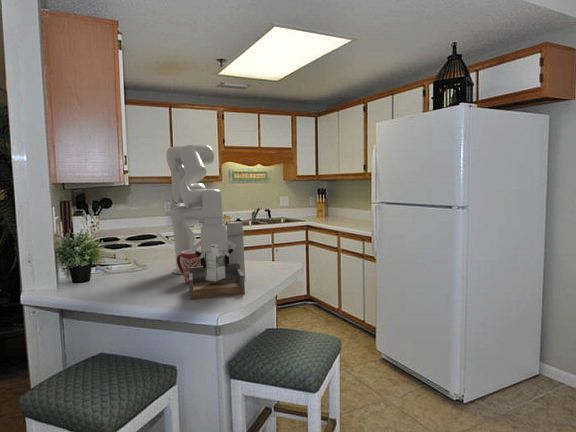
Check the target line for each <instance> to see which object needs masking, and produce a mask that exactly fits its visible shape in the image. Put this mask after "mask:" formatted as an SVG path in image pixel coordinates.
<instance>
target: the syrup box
mask: <svg viewBox="0 0 576 432" xmlns="http://www.w3.org/2000/svg"><path fill="white" fill-rule="evenodd" d="M204 258H205V280H208V281H219V280H222V279H225V278H226V267H225V253H224V251H219V250H218V244H212V245H211V252H206V253H205V255H204Z"/></svg>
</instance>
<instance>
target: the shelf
mask: <svg viewBox="0 0 576 432" xmlns="http://www.w3.org/2000/svg"><path fill="white" fill-rule="evenodd" d="M225 267H226V266H225ZM188 286H189V299H190V300H199V299H209V298H217V297H227V296H237V295H245V294H246V291H245V290H246V289H245V280H244V275H243V273H242V271H241V269H240V263H235V264H228V267H226V278H225V279H222V280H219V281H208V280H205V269H203V266H200V267H189V284H188Z"/></svg>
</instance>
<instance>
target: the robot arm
mask: <svg viewBox="0 0 576 432" xmlns="http://www.w3.org/2000/svg"><path fill="white" fill-rule="evenodd" d="M214 153H215V152H214V150H213V149H212V147H211V146H210V145H208V144H187V145H177V146H176V145H175V146H171V147H168V148H167V150H166V163H167V165H168V169H169V171H170V173H171V185H172V186H171V187H172V199H173V201H174V203H176V204H183V205H180V206H176V207H174V208H172V209H171V211H170V220H171V224H172V230H173V241H174V256H175V257H174V258H175V268H173V270H172V273H173V274H177V275H183V274H182V272H181V271H180V269H179V267H178V264H177V256H178V255H180V254H181V252H182V251H186V250H193V251H194V252H195V253H196V255H198V256H199V257H200V258H201V266H203V269H205V258H204V255H205V253H206V252H211V245H212V244H218V250H219V251H224V253H225V266H226V267H228V264H229V255H230V254H231V253H232V252H233V250H234V249H235V247H236V244H234V243H233V242H231V241H229V240H228V239H227V226H226V224H224V217H223V198H222V197H223V196H222V195H223V194H222V191H221V190H220V189H215V188H207V187H206V186H205V184H204V183H201V182H200V181H202V180H203V179H204V178H205V177H206V175H207V169H206V166H205V165H212V163H214V160H215V154H214ZM198 225H201V227H200V236H199V239H200V241H199V242H197V243H196V242H195V241H196V239H195V233H194V232H193V230H192V229H191V228H190V227H191V226H198ZM189 226H190V227H189ZM228 244H229V245H231V246H232V247H231V248H230V249H229V251H227V249H228ZM199 247H200V250H201V251H202V252H201V253H200V252H199V251H198V250H199V249H198V248H199ZM180 263H181V266H182V268H183V261H182V257H180Z"/></svg>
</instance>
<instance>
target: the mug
mask: <svg viewBox="0 0 576 432" xmlns="http://www.w3.org/2000/svg"><path fill="white" fill-rule="evenodd" d="M197 250H198V251H199V252H200V253H201V252H202V251H201V249H197ZM180 257H182V261H183V268H182V266H181V263H180ZM177 264H178V267H179V269H180V271H181V272H182V274H181V275H183V279H184V284H186V285H189V267H200V266H201V258H200V257H199V256H198V255H196V253H195V252H194V251H193V250H186V251H182V252H181V254H180V255H178V256H177Z"/></svg>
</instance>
